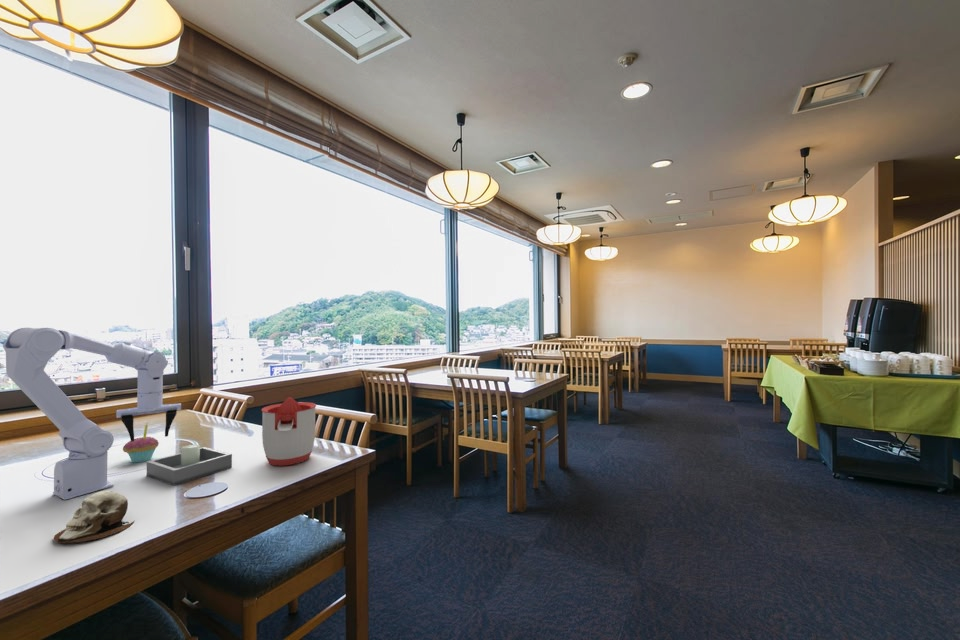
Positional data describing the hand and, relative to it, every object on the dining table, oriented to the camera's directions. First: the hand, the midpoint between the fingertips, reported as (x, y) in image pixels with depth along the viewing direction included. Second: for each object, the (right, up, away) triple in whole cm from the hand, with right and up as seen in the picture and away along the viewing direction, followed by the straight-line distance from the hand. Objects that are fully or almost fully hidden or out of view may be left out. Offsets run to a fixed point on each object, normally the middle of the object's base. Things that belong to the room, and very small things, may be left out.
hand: (149, 438), depth 115 cm
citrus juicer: (+38, -10, +7) cm, 40 cm away
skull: (+17, -9, -34) cm, 39 cm away
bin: (+13, -9, -1) cm, 16 cm away
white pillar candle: (+13, -9, -2) cm, 16 cm away
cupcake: (-10, -10, +9) cm, 16 cm away
